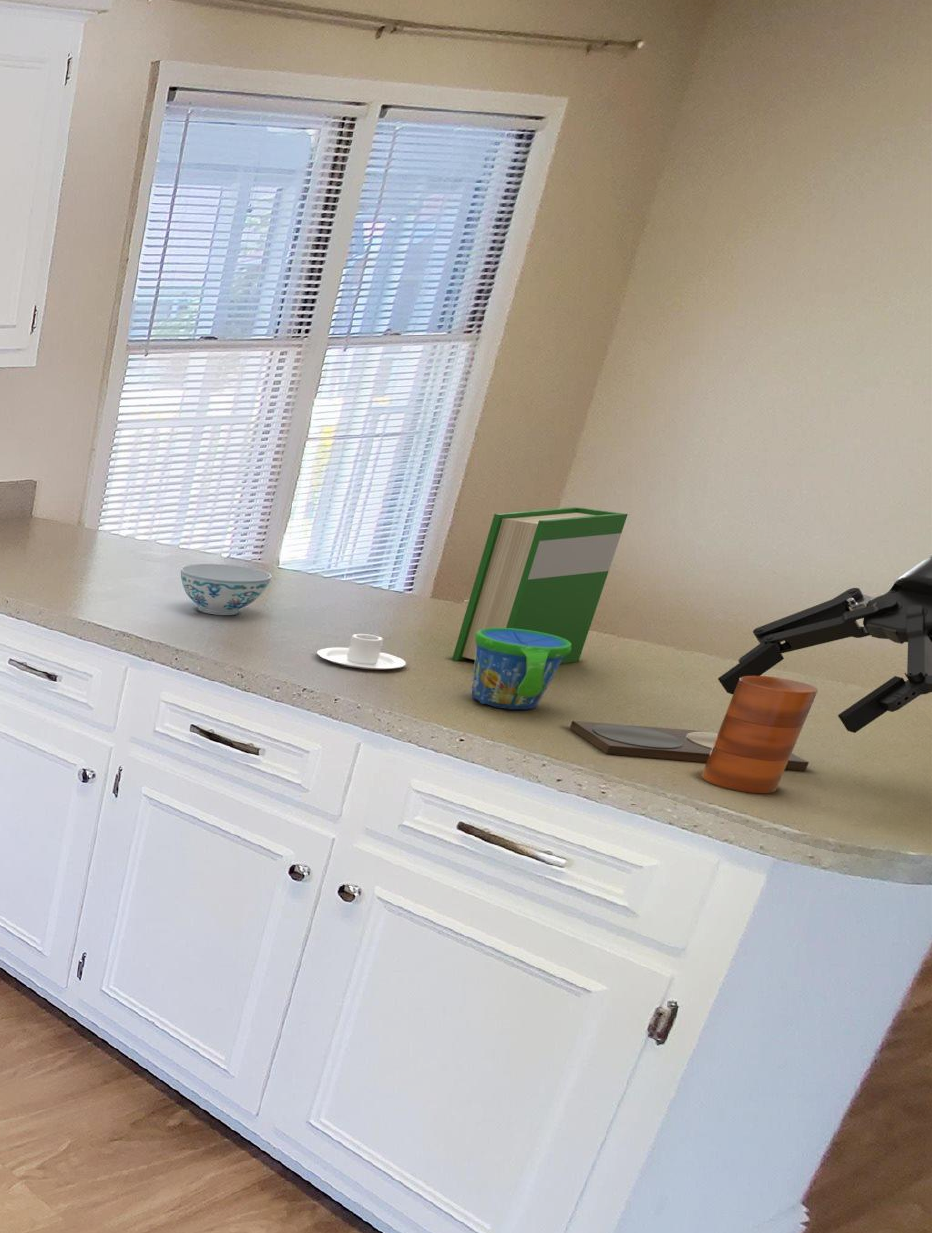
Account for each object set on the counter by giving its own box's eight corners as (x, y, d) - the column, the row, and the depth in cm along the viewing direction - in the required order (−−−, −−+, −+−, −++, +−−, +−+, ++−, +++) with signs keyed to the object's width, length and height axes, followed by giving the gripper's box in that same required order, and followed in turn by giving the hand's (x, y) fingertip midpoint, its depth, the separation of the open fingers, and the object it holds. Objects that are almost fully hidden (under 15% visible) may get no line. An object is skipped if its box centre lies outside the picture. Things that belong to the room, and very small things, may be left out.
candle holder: (316, 665, 183) (322, 640, 181) (316, 648, 192) (322, 623, 190) (406, 677, 176) (414, 650, 175) (402, 658, 186) (409, 633, 184)
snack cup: (561, 725, 155) (585, 655, 152) (466, 713, 160) (487, 645, 157) (537, 693, 168) (558, 628, 164) (450, 683, 173) (468, 620, 169)
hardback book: (499, 671, 178) (545, 521, 169) (452, 659, 185) (494, 513, 176) (578, 661, 182) (627, 514, 174) (529, 649, 189) (574, 506, 180)
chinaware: (246, 603, 221) (255, 564, 218) (275, 622, 208) (284, 581, 205) (164, 600, 224) (171, 562, 222) (186, 619, 211) (194, 579, 208)
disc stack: (789, 796, 132) (832, 694, 128) (720, 790, 134) (760, 689, 130) (754, 776, 138) (795, 678, 133) (689, 770, 140) (727, 673, 135)
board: (805, 771, 139) (809, 761, 139) (606, 754, 145) (609, 744, 145) (754, 743, 148) (758, 734, 147) (569, 728, 154) (572, 719, 154)
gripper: (1122, 628, 116) (917, 764, 122) (856, 576, 140) (694, 691, 145) (1096, 580, 115) (890, 719, 120) (831, 534, 138) (668, 653, 143)
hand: (782, 704), depth 133 cm, fingers open, 13 cm apart
